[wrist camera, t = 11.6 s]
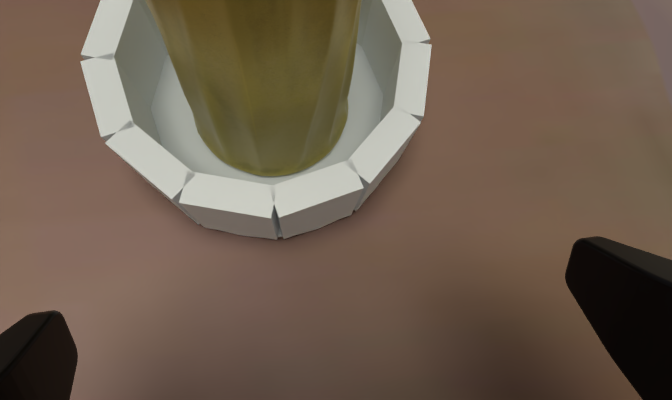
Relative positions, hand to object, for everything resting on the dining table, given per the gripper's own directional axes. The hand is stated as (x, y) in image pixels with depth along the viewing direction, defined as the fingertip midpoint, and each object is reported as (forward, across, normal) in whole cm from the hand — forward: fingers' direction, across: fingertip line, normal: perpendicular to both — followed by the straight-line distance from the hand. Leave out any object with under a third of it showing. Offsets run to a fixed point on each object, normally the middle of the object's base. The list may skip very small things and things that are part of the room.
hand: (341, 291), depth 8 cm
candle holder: (+12, 0, 0) cm, 12 cm away
